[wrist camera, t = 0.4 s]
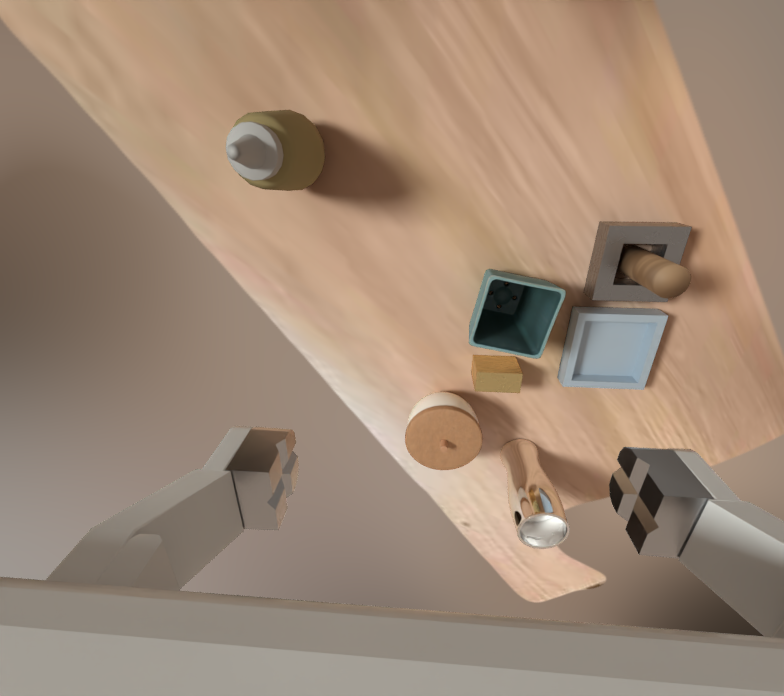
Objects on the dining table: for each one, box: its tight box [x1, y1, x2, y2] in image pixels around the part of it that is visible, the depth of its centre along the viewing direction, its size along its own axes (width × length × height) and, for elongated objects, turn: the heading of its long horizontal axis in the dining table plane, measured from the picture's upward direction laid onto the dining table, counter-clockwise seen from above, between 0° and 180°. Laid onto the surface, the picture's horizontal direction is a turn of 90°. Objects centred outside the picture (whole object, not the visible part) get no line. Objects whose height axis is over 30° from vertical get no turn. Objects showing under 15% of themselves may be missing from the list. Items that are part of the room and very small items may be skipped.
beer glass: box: [500, 439, 570, 549], centre depth 58 cm, size 7×7×15 cm
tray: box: [557, 307, 668, 390], centre depth 54 cm, size 11×11×2 cm
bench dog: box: [471, 355, 523, 393], centre depth 56 cm, size 3×6×5 cm, turn 90°
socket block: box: [584, 222, 692, 302], centre depth 49 cm, size 9×9×3 cm
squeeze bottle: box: [226, 110, 325, 191], centre depth 39 cm, size 8×8×18 cm
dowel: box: [617, 245, 691, 299], centre depth 46 cm, size 4×4×10 cm
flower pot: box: [469, 269, 566, 359], centre depth 49 cm, size 9×9×9 cm
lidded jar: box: [405, 392, 483, 470], centre depth 58 cm, size 11×11×9 cm
